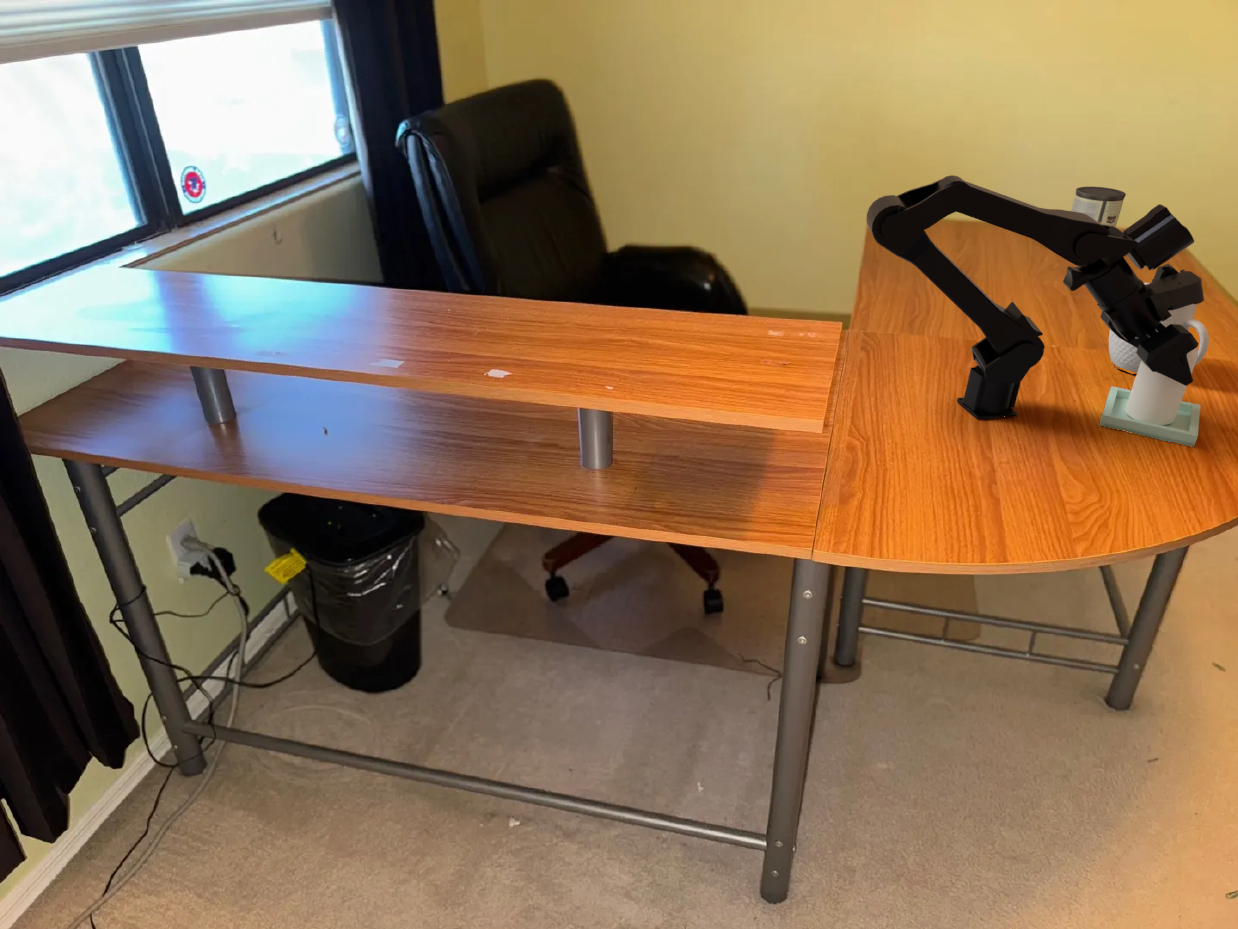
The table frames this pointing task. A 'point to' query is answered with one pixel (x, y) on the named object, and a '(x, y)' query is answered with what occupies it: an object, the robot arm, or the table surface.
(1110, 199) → the coffee can
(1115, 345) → the mug
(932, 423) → the table surface
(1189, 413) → the tray
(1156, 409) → the can
